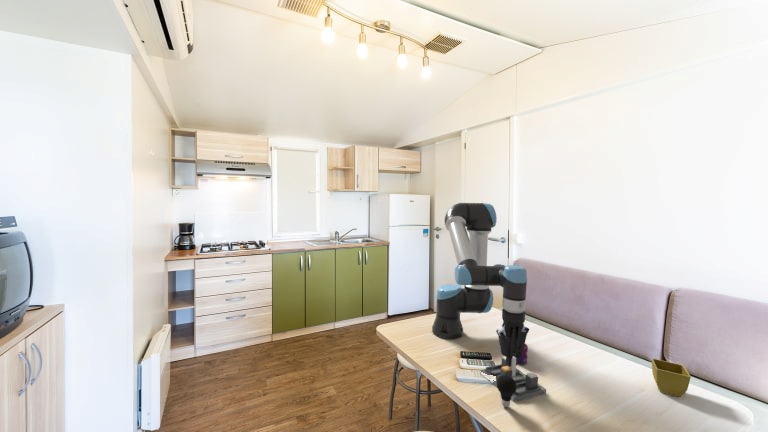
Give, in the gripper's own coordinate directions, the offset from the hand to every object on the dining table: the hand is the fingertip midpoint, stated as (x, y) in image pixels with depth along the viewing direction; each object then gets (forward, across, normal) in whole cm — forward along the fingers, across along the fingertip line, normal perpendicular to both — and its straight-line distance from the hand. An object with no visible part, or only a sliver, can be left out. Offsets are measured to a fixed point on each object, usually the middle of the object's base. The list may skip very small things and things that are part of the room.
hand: (511, 374), depth 110 cm
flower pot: (+4, +50, -21) cm, 54 cm away
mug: (+4, +14, +14) cm, 20 cm away
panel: (+3, 0, 0) cm, 3 cm away
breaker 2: (+2, +3, -6) cm, 7 cm away
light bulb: (+4, -11, -10) cm, 15 cm away
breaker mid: (+2, -2, 0) cm, 3 cm away
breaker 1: (+2, +3, +6) cm, 7 cm away
